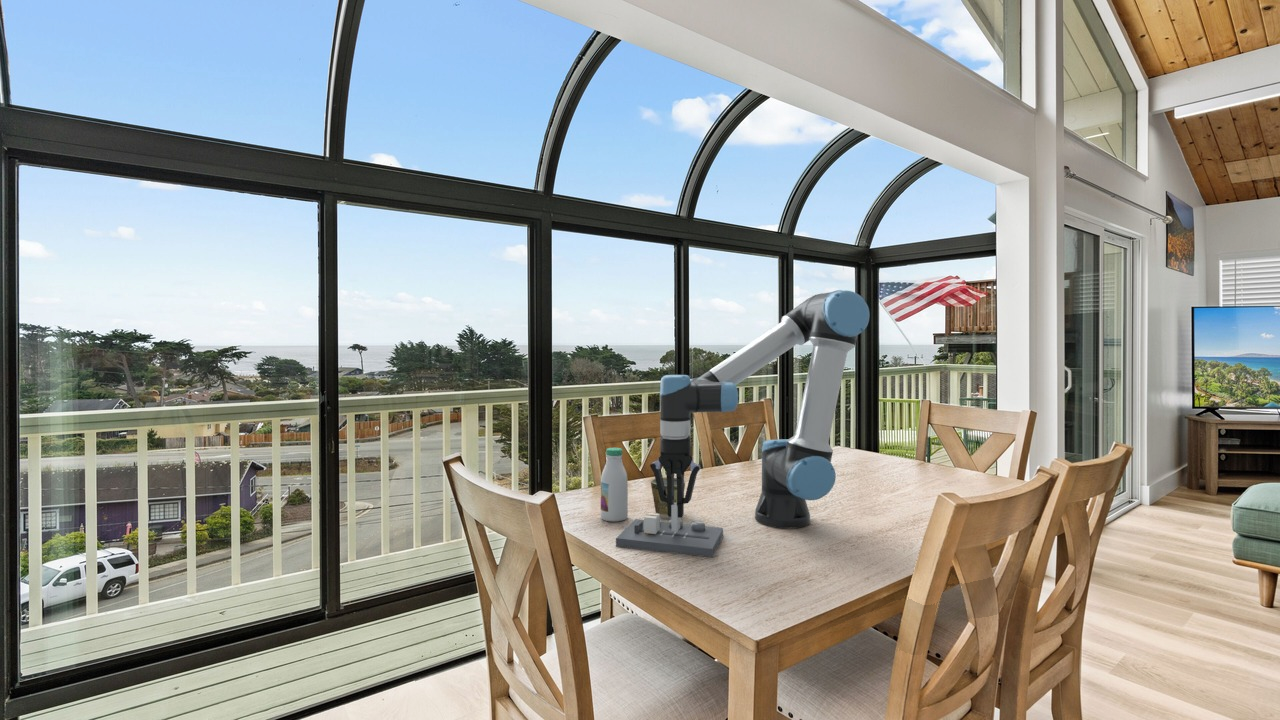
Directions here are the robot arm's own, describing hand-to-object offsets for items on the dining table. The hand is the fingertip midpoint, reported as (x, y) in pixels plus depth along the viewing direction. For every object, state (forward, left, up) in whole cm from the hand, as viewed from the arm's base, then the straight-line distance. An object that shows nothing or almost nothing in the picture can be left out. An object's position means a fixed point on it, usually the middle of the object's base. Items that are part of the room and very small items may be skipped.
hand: (675, 529), depth 147 cm
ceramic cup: (+7, -23, -4) cm, 24 cm away
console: (+1, -1, -3) cm, 4 cm away
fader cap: (+6, 0, -1) cm, 6 cm away
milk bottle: (+21, -14, -4) cm, 26 cm away
